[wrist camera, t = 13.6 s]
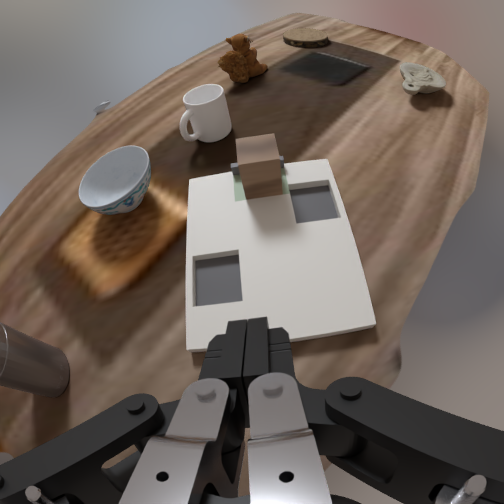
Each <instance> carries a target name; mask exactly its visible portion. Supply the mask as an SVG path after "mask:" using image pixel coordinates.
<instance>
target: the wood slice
mask: <svg viewBox="0 0 504 504" xmlns="http://www.w3.org/2000/svg"><path fill="white" fill-rule="evenodd" d="M283 39H284V42H285V43H286V44H288V45H291V46H295V47H319V46H323V45H325V44H327V42H328V35H327V33H325V32H323V31H321V30H317V29H310V28H299V29H292V30H288V31H286V32H284V33H283Z"/></svg>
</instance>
